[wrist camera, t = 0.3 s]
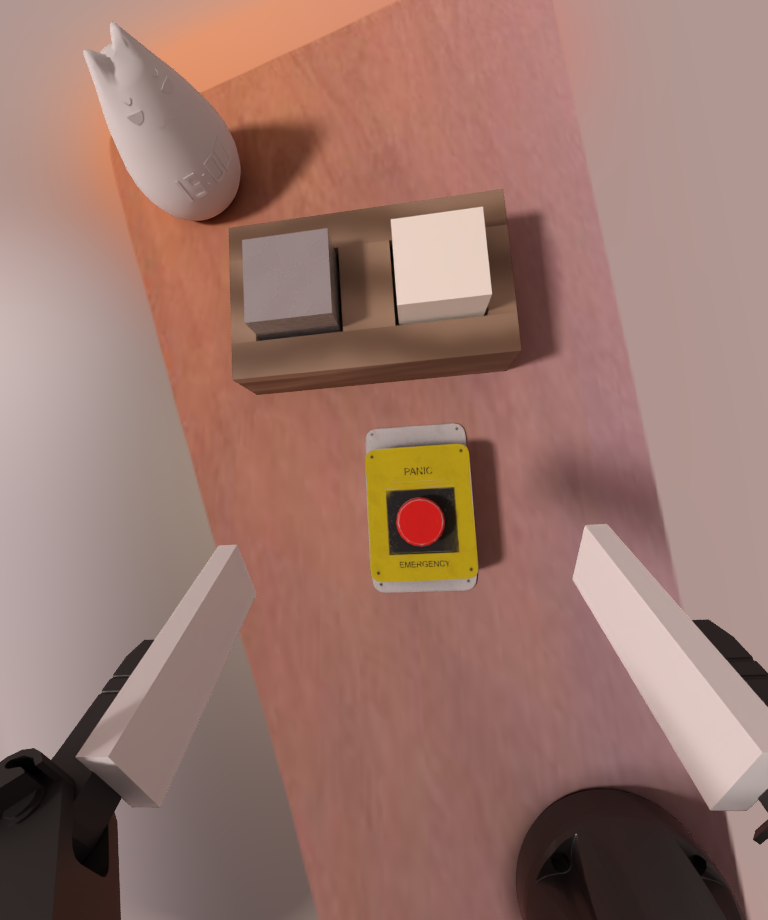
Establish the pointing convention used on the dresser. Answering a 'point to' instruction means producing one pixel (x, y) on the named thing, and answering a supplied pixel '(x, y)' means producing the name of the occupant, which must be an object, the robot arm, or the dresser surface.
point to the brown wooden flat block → (377, 309)
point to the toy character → (164, 130)
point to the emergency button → (420, 509)
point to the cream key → (441, 266)
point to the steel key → (291, 285)
